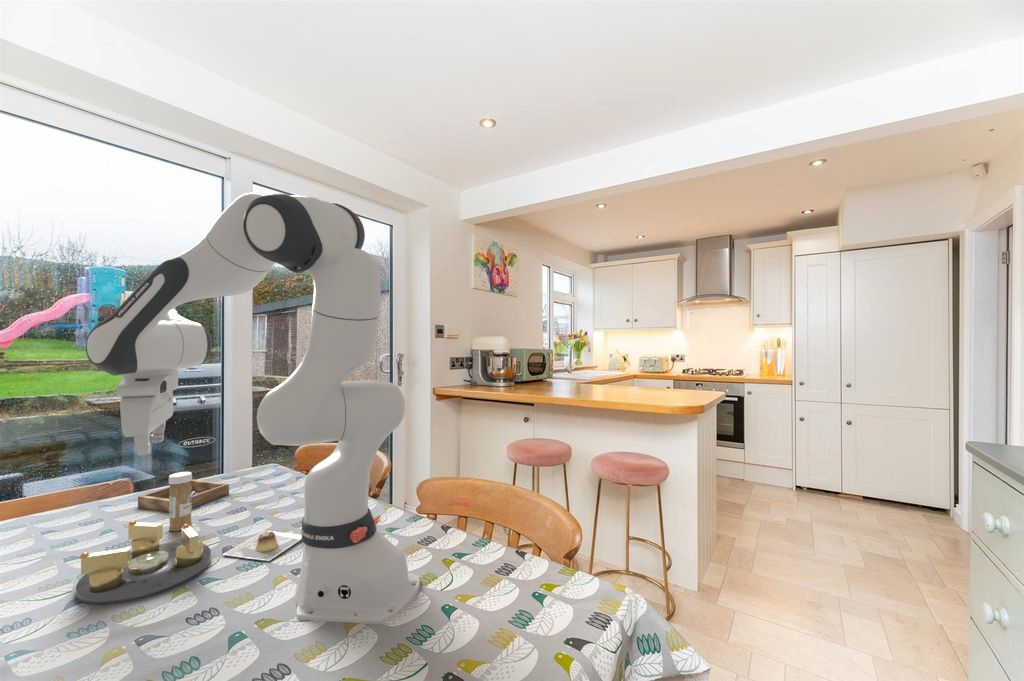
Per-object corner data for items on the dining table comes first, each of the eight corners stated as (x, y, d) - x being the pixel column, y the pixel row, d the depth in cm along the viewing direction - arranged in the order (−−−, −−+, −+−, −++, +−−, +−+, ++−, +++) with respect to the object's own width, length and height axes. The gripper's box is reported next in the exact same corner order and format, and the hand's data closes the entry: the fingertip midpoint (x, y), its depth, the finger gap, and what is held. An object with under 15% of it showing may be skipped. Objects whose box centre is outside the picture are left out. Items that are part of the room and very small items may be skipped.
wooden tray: (228, 493, 128) (229, 483, 128) (178, 513, 114) (178, 502, 114) (191, 489, 132) (191, 479, 132) (137, 507, 118) (137, 496, 118)
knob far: (169, 548, 90) (169, 517, 90) (149, 559, 86) (149, 526, 86) (140, 547, 91) (140, 516, 91) (119, 557, 87) (119, 525, 87)
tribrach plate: (233, 558, 91) (233, 538, 91) (127, 617, 71) (127, 592, 71) (164, 545, 96) (164, 527, 96) (47, 597, 76) (47, 575, 76)
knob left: (133, 575, 80) (133, 540, 80) (124, 587, 76) (124, 551, 76) (86, 583, 77) (86, 547, 77) (73, 597, 73) (73, 559, 73)
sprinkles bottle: (191, 528, 104) (191, 474, 104) (167, 533, 102) (167, 478, 102) (192, 522, 108) (192, 469, 108) (169, 526, 106) (169, 473, 106)
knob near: (207, 562, 85) (207, 529, 85) (180, 571, 82) (180, 537, 82) (197, 551, 89) (197, 519, 89) (171, 559, 86) (171, 526, 86)
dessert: (264, 534, 103) (264, 515, 103) (307, 539, 100) (307, 519, 100) (221, 559, 91) (221, 537, 91) (269, 566, 88) (269, 543, 88)
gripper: (146, 376, 95) (146, 437, 96) (112, 389, 77) (112, 464, 78) (181, 375, 98) (181, 434, 99) (156, 387, 80) (156, 460, 80)
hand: (151, 448), depth 88 cm, fingers open, 8 cm apart
